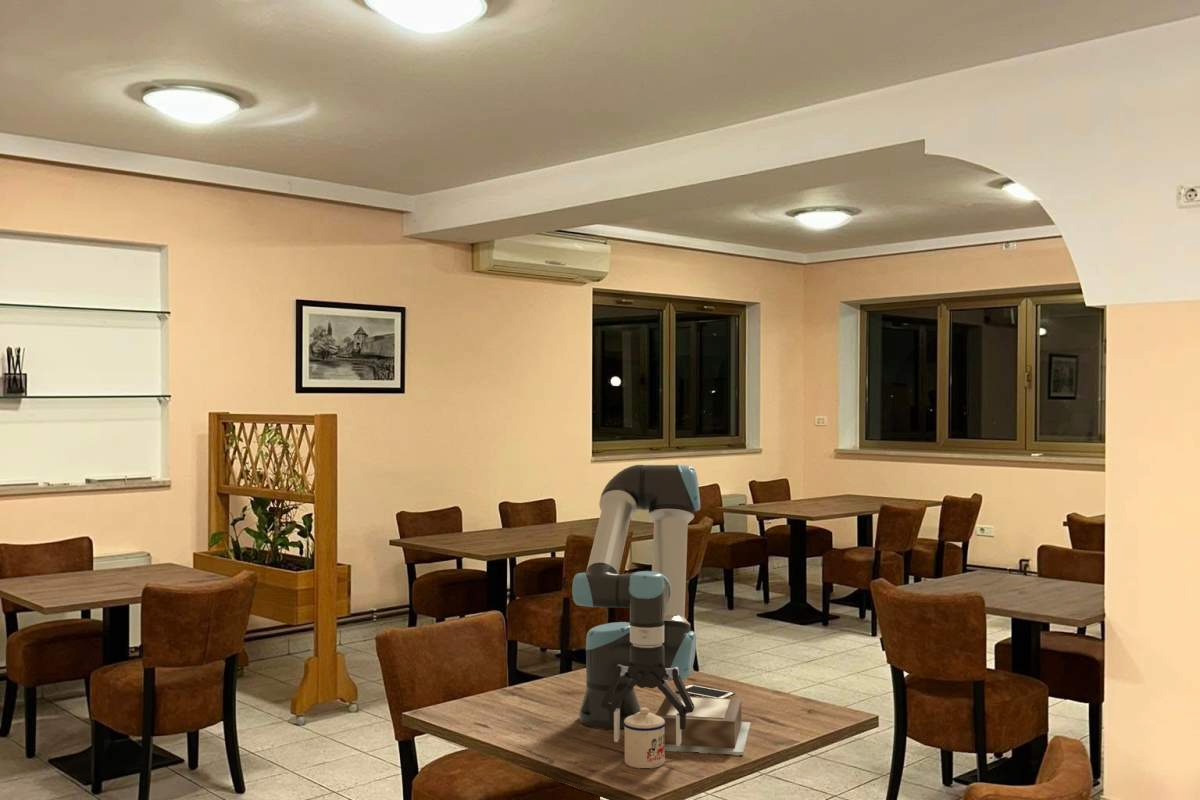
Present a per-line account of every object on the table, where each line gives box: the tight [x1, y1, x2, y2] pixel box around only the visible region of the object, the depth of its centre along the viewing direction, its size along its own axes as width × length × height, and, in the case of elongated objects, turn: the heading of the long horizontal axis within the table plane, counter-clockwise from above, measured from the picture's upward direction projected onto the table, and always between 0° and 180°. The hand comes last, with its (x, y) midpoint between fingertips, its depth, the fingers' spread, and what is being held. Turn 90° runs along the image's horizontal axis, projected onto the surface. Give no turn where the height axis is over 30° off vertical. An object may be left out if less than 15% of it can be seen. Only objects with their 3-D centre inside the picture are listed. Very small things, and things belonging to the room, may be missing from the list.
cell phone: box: [675, 684, 736, 699], centre depth 280 cm, size 8×15×1 cm, turn 53°
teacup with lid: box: [623, 707, 666, 769], centre depth 228 cm, size 12×9×12 cm
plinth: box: [655, 695, 752, 756], centre depth 244 cm, size 22×22×7 cm
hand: (647, 742), depth 228 cm, fingers open, 13 cm apart
